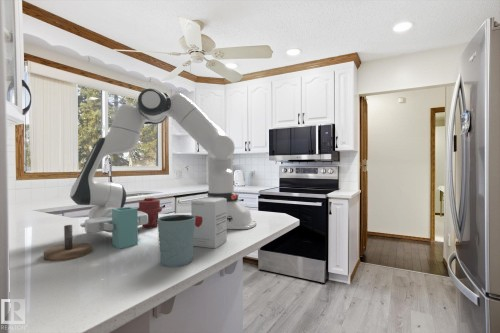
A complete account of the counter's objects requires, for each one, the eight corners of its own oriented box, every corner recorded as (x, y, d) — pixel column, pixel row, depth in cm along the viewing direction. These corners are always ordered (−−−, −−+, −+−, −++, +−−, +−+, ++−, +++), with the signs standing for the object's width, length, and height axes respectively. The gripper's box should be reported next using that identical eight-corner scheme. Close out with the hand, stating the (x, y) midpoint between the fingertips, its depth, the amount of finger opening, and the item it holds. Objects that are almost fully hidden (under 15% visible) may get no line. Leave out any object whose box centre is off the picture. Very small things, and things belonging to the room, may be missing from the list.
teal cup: (155, 269, 68) (154, 222, 68) (160, 256, 78) (159, 214, 78) (195, 266, 70) (195, 220, 70) (196, 253, 80) (195, 213, 80)
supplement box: (190, 246, 88) (190, 200, 87) (204, 238, 96) (203, 196, 96) (215, 249, 84) (215, 201, 84) (227, 241, 93) (227, 197, 93)
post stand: (100, 249, 85) (100, 222, 85) (65, 262, 74) (65, 231, 74) (71, 246, 88) (70, 220, 88) (33, 258, 77) (32, 229, 77)
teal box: (130, 241, 94) (130, 206, 94) (137, 244, 90) (137, 208, 90) (112, 244, 90) (111, 208, 90) (118, 248, 86) (118, 210, 86)
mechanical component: (144, 224, 121) (165, 224, 120) (132, 229, 111) (155, 230, 110) (144, 196, 120) (165, 196, 120) (132, 199, 111) (155, 199, 110)
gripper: (78, 215, 92) (90, 220, 82) (138, 207, 106) (154, 211, 96) (78, 233, 92) (90, 241, 82) (138, 223, 106) (155, 229, 96)
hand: (125, 225), depth 89 cm, fingers closed on teal box, 6 cm apart
